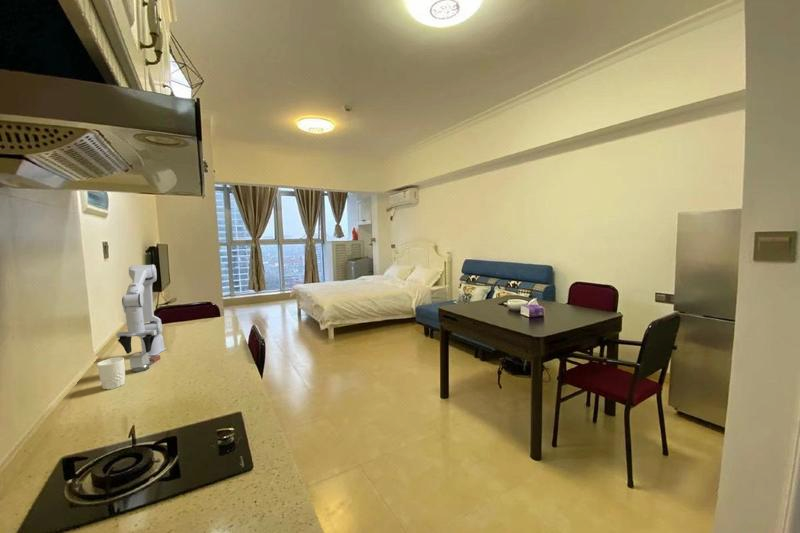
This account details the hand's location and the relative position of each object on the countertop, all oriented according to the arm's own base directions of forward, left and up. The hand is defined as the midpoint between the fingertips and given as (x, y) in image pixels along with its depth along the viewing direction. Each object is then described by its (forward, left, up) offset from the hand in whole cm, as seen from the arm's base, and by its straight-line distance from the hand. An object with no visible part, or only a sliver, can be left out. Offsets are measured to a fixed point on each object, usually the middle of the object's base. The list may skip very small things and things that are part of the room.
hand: (138, 352), depth 142 cm
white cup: (+15, -1, -8) cm, 17 cm away
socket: (0, 0, -6) cm, 6 cm away
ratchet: (-4, 0, -8) cm, 9 cm away
